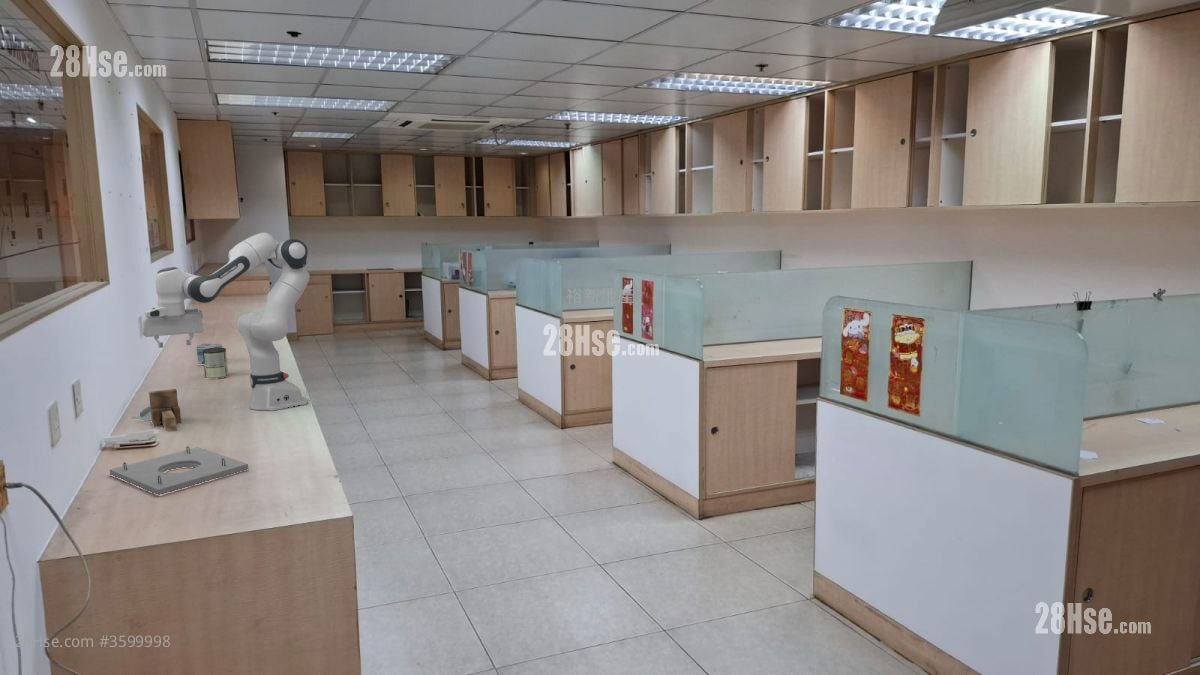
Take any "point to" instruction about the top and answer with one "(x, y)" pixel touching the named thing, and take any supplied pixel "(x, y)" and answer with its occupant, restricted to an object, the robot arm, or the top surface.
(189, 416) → the top surface
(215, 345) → the light bulb box
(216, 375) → the coffee can
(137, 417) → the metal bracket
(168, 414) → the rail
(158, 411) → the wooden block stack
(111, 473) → the mounting panel
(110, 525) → the top surface
